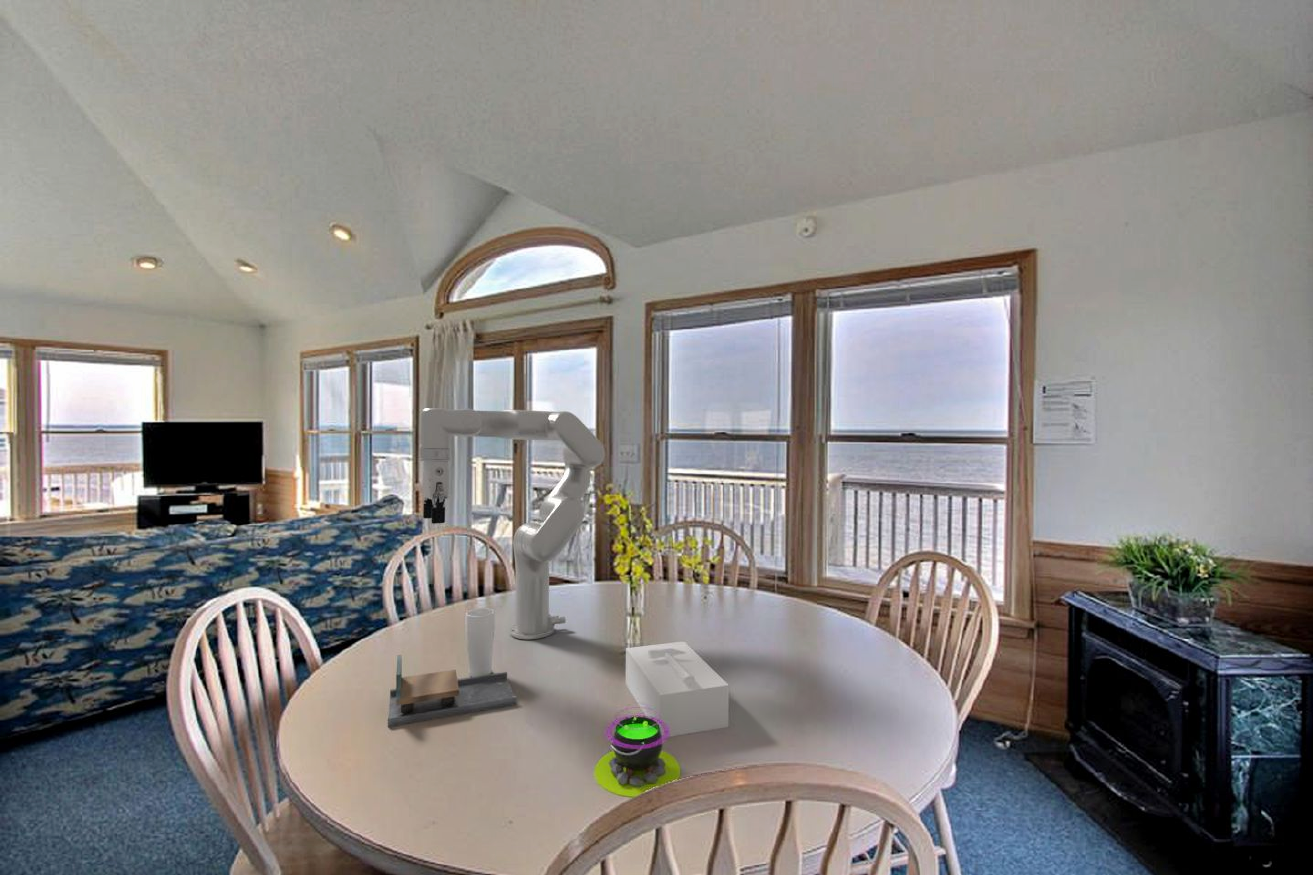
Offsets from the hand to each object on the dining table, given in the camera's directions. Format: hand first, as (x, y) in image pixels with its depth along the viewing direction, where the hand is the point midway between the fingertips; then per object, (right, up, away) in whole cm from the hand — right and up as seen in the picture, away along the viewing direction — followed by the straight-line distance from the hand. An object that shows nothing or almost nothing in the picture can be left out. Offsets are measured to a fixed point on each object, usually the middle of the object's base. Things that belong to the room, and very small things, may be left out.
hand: (433, 520), depth 154 cm
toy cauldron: (+55, -37, -52) cm, 84 cm away
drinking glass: (+16, -35, -13) cm, 41 cm away
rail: (+14, -35, -26) cm, 46 cm away
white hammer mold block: (+62, -36, -27) cm, 77 cm away
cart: (+9, -35, -28) cm, 46 cm away
